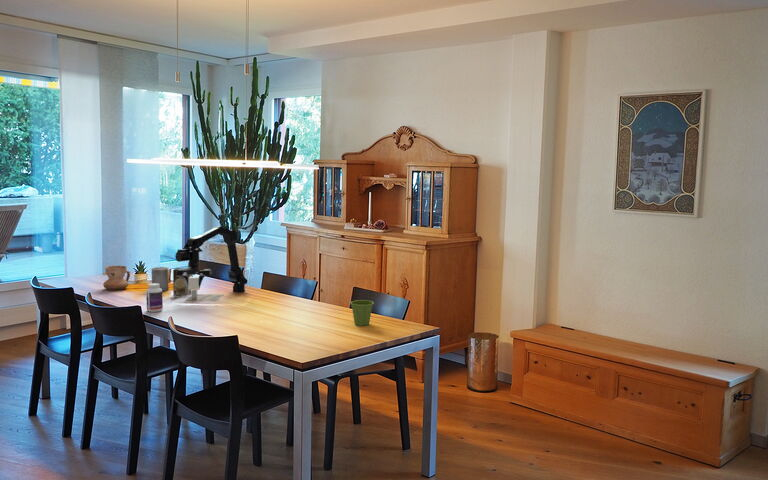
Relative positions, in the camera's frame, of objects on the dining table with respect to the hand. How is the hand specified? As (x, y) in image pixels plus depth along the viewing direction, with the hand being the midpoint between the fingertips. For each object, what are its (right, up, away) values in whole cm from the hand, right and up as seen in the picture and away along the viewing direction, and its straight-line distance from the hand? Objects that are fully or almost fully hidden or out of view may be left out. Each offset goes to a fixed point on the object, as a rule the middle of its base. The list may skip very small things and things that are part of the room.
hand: (194, 287), depth 379 cm
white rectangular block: (0, -1, 0) cm, 1 cm away
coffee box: (-12, -6, +15) cm, 20 cm away
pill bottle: (-14, -11, -26) cm, 32 cm away
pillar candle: (-30, -4, +31) cm, 43 cm away
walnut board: (+5, -8, +5) cm, 10 cm away
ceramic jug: (-57, -4, +32) cm, 66 cm away
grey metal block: (0, -7, +1) cm, 7 cm away
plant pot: (+97, -15, -48) cm, 109 cm away
